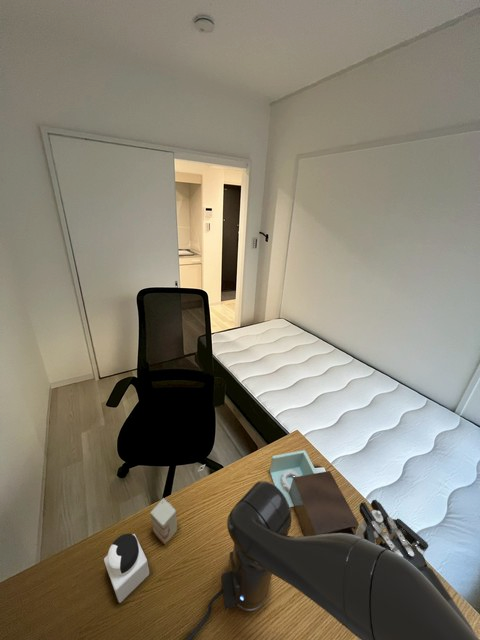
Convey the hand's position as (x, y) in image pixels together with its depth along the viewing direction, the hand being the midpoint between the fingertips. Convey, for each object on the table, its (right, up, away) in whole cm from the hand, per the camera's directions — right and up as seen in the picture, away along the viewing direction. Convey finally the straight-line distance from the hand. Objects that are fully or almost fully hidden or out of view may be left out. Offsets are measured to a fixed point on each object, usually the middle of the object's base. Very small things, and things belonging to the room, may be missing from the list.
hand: (367, 503), depth 56 cm
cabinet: (-6, -16, +16) cm, 24 cm away
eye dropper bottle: (0, -10, +2) cm, 11 cm away
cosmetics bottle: (-50, -15, +10) cm, 53 cm away
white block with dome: (-56, -19, +2) cm, 59 cm away
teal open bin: (-13, -11, +24) cm, 29 cm away
